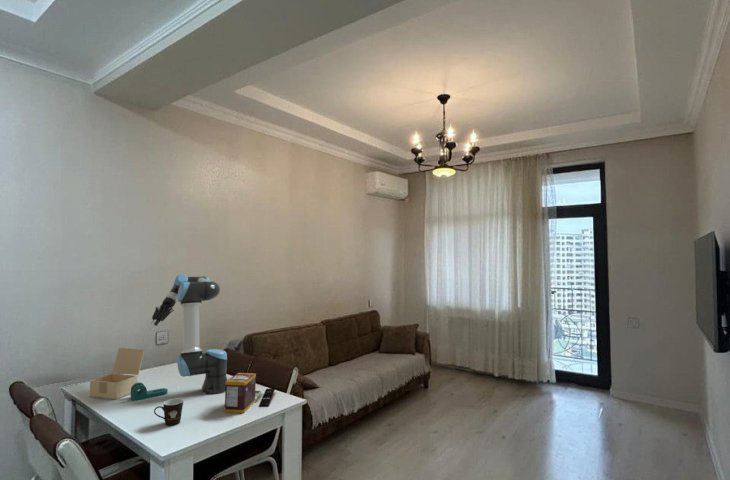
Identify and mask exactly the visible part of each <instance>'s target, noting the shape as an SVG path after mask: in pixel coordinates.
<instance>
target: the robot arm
mask: <svg viewBox="0 0 730 480" xmlns="http://www.w3.org/2000/svg"><path fill="white" fill-rule="evenodd" d="M220 292H221V286H220V284H218V283H217V282H216V281H210V277H209V276H205V275H204V276H188V275H186V274H185V273H181V274H178V275H176V277H175V279H174V283H173V285H172V287H171V289H170V290H169V292H168V293H167V294H166V296H165V297H164V299H163V301H162V303H161V305H160V306H159V307H158V306H156V307H155V311H154V312H153V314H152V317H151V319H152V321H151V323H150V326H149V327H148V329H149V330H150V331H154V330H155V328H156V326H158V325H159V323H161V322H164V321H165V320H166V318H168V317H169V316H170V315H171V313H173V312H174V309H173V307H174V306H176V304H177V302H178V303H180V306H181V307H182V308H183V311H182V312H183V313H182V315H183V319H182V320H183V322H182V323H183V325H182V326H183V327H182V328H183V330H182V332H183V336H182V337H183V341H182V342H183V343H182V344H183V348H182V350H181V352H180V354H179V356H177V360H176V361H177V362H176V364H177V369H178V373H179V376H181V377H183V378H185V377H192V376H193V377H194V376H200V375H205V377H204V381H203V382H202V383H203V384H202V385H201V392H202V393H203V394H207V395H211V394H212V395H213V394H214V395H215V394H220V393H221V394H222V393H225V384H226V381H227V380H228V376H227V366H228V365H227V364H228V354H227V352H226V351H225V350H224V349H217V348H212V349H211V348H210V349H207V350H206V351H205V353H203V349H202V348H201V347H200V306H201V305H202V303H203V302H206V301H210V300H213V299H215V298H217V297H218V296H219V294H220Z"/></svg>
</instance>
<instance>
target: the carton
mask: <svg viewBox="0 0 730 480" xmlns="http://www.w3.org/2000/svg"><path fill="white" fill-rule="evenodd" d="M89 381H90V382H89V397H90V398H95V397H96V398H97V399H104V400H105V399H106V400H112V401H114V400H115V401H118V400H120V399H122V398H124V397H127V396H129V395H130V396H131V387H132V386H133V385H134V384H135V383H138V375H132V374H122V373H113V372H112V373H109V374H105V375H103V376H99V377H97V378H94V379H90V380H89Z"/></svg>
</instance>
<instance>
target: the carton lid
mask: <svg viewBox="0 0 730 480" xmlns="http://www.w3.org/2000/svg"><path fill="white" fill-rule="evenodd" d="M144 354H145V349H137V348H125V347H119V348H118V350H117V354H116V357H115V358H116V359H115V362H114V366H113V368H112V369H113V370H112V373H113V374H123V375H133V376H140V371H141V367H142V362H143V358H144Z"/></svg>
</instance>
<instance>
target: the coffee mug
mask: <svg viewBox="0 0 730 480" xmlns="http://www.w3.org/2000/svg"><path fill="white" fill-rule="evenodd" d="M183 407H184V398H183V399H182V398H170V399H167V400H165V401H163V406H162V405H161V406H160V405H159V406H156V407H155V408H154V410H153V414H154V415H155V416H157V417H158V418H159V419H160V418H161V419H163V420H164V425H165V426H166V427H174V426H178V425H179V424H181V419H182V413H183ZM157 409H162V411H163V415H164V416H161V415H159V414H158V413H156V411H157Z"/></svg>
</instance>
